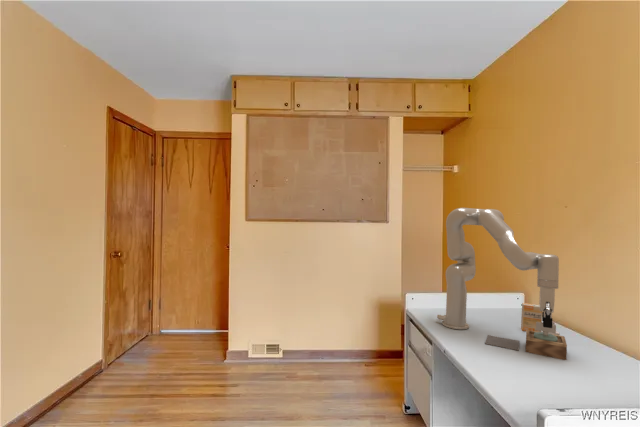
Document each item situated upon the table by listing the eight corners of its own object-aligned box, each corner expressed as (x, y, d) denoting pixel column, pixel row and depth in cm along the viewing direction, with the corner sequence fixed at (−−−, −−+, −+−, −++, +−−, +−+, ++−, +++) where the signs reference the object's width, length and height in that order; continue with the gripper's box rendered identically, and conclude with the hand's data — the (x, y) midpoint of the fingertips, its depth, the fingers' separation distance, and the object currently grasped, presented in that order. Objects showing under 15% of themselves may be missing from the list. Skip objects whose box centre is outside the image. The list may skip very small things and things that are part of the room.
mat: (484, 344, 156) (484, 343, 156) (487, 335, 167) (487, 334, 167) (518, 350, 149) (518, 349, 149) (519, 341, 160) (519, 340, 160)
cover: (533, 340, 148) (534, 324, 148) (533, 334, 156) (534, 319, 156) (558, 344, 144) (558, 328, 144) (556, 338, 151) (557, 323, 151)
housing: (525, 351, 148) (526, 337, 148) (525, 343, 159) (526, 329, 159) (566, 360, 141) (566, 344, 141) (563, 350, 151) (564, 336, 151)
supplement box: (522, 331, 176) (523, 304, 176) (520, 328, 180) (521, 302, 180) (541, 333, 173) (542, 306, 173) (539, 330, 177) (540, 304, 177)
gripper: (536, 279, 159) (536, 318, 159) (537, 285, 144) (536, 328, 144) (557, 281, 155) (556, 321, 155) (559, 288, 140) (559, 331, 140)
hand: (547, 324), depth 150 cm, fingers open, 9 cm apart
